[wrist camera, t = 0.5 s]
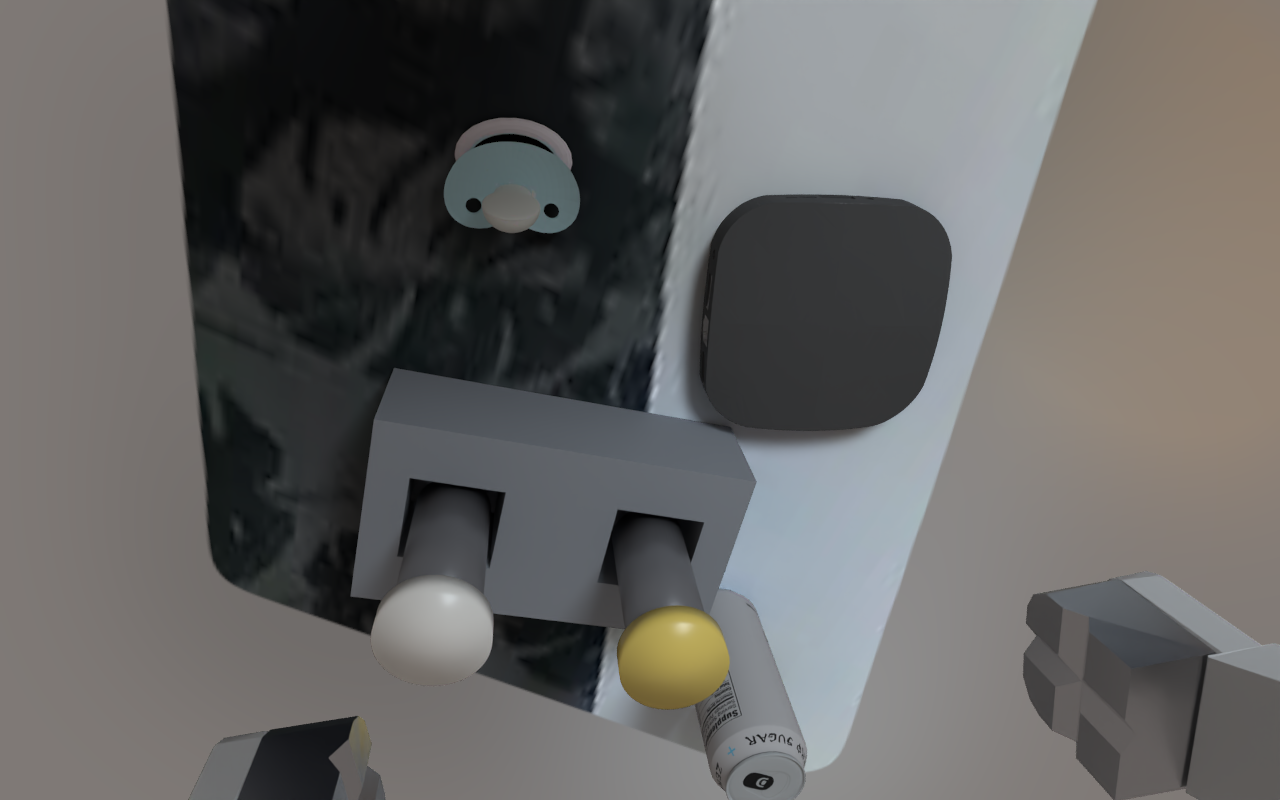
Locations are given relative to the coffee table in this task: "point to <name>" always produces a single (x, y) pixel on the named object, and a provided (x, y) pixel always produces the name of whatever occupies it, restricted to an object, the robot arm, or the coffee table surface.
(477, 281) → the coffee table surface
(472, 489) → the knob white
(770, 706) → the energy drink can
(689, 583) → the knob mustard
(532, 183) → the pacifier
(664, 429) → the mount
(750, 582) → the coffee table surface
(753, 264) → the media streaming box
